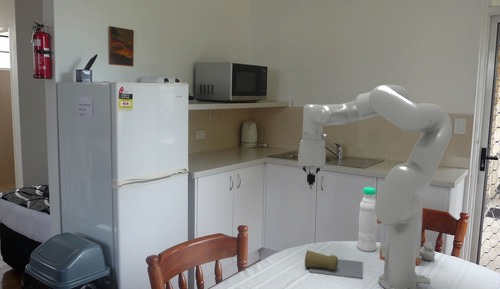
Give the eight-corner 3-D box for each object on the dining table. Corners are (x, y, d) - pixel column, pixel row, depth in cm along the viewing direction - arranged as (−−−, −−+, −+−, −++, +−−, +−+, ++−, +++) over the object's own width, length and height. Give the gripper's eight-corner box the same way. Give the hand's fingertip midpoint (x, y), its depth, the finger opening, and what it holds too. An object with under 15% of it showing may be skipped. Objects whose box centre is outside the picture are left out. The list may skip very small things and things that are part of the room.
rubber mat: (362, 262, 157) (362, 261, 157) (362, 278, 144) (362, 277, 144) (313, 257, 162) (313, 256, 162) (309, 272, 148) (309, 271, 148)
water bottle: (357, 250, 169) (360, 189, 166) (357, 244, 175) (360, 185, 172) (375, 253, 167) (378, 190, 163) (375, 246, 173) (379, 186, 170)
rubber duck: (424, 262, 158) (426, 242, 157) (415, 255, 164) (416, 236, 163) (438, 262, 159) (439, 241, 158) (428, 255, 165) (429, 235, 164)
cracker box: (420, 260, 160) (423, 206, 158) (418, 266, 155) (422, 210, 152) (381, 253, 166) (384, 201, 164) (379, 258, 161) (382, 205, 158)
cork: (304, 270, 151) (336, 275, 147) (304, 255, 149) (336, 260, 145) (308, 261, 156) (338, 266, 153) (308, 247, 155) (339, 251, 151)
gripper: (333, 136, 163) (331, 183, 165) (294, 135, 167) (293, 181, 169) (331, 138, 156) (329, 187, 158) (291, 137, 159) (290, 185, 162)
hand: (310, 184), depth 164 cm, fingers closed
